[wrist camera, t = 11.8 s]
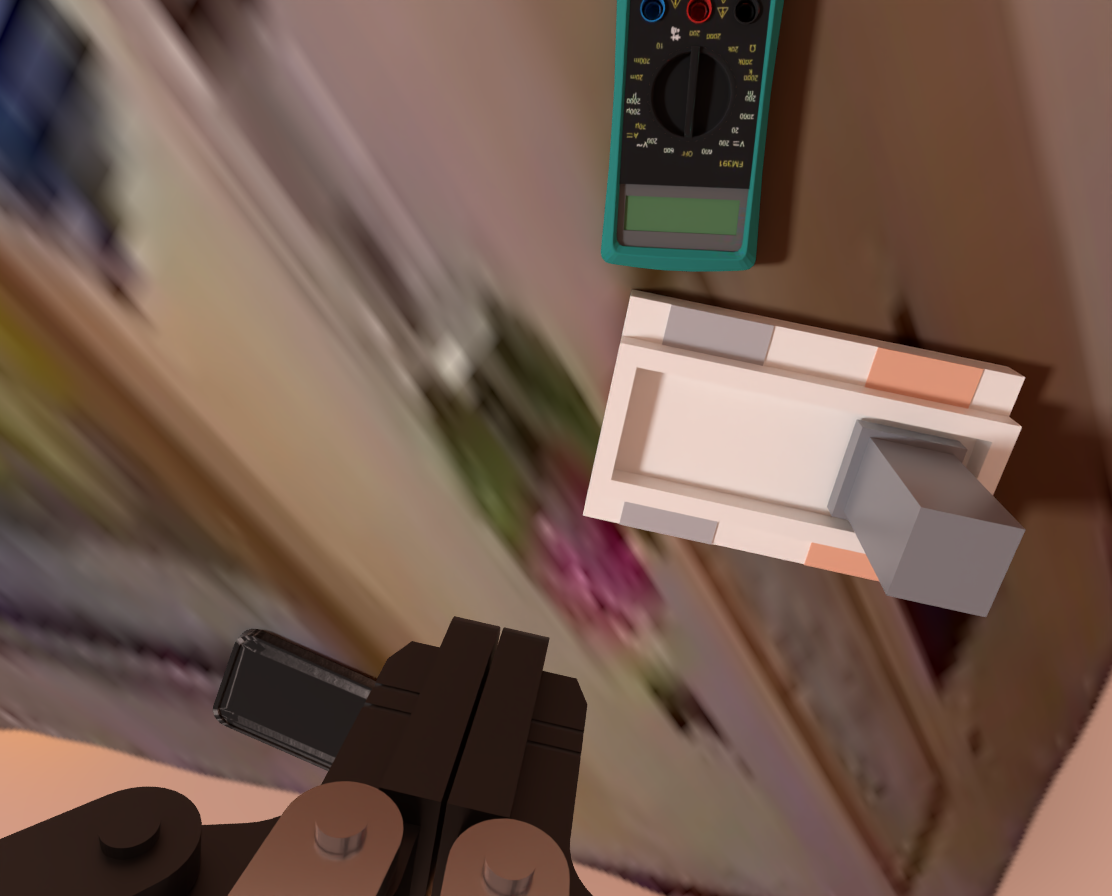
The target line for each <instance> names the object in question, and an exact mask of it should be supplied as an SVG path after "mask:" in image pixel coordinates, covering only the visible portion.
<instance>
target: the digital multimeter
mask: <svg viewBox="0 0 1112 896" xmlns="http://www.w3.org/2000/svg"><path fill="white" fill-rule="evenodd" d="M770 1H771V3H770ZM783 4H784V0H617V21H616V53H615V85H614V101H613V116H612V131H611V146H610V161H609V173H608V183H607V194H606V204H605V214H604V225H603V235H602V246H601V255H602V258H603V259H604V260H605V262H607V263H611V264H617V265H624V266H631V267H639V268H648V269H658V270H671V271H739V270H747V269H750V268H751V267H752V266H753V265H754V263H755V261H756V251H757V238H758V225H759V211H760V198H761V184H762V171H763V161H764V152H765V142H766V133H767V123H768V114H769V105H770V95H771V87H772V80H773V73H774V66H775V59H776V52H777V45H778V38H779V31H780V24H781V17H782V10H783ZM769 10H770V12H769ZM629 14H630V15H629ZM768 19H769V20H768ZM767 28H768V29H767ZM766 36H767V37H766ZM704 47H705V48H704ZM712 50H713V51H712ZM671 53H672V54H671ZM720 55H721V56H720ZM731 69H732V70H731ZM652 75H653V76H652ZM734 77H735V78H734ZM649 84H650V85H649ZM734 104H735V105H734ZM726 121H727V122H726ZM720 128H721V129H720ZM719 129H720V130H719ZM671 137H672V138H671ZM679 140H680V141H679ZM729 251H735V252H729Z"/></svg>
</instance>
